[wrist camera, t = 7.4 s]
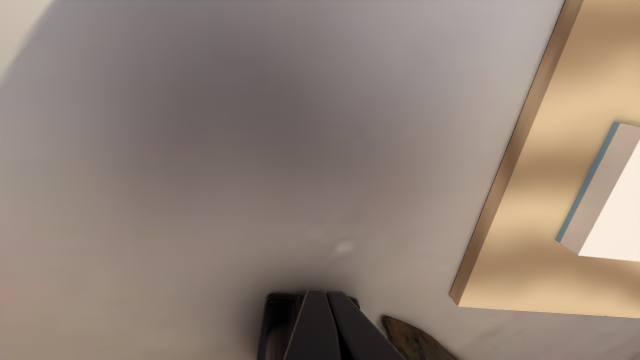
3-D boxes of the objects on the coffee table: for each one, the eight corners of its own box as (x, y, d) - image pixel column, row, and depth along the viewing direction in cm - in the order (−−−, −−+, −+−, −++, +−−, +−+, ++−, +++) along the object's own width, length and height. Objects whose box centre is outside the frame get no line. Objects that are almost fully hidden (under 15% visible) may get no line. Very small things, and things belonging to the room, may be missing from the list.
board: (625, 306, 27) (640, 318, 26) (449, 294, 24) (457, 306, 23) (789, 49, 20) (818, 49, 19) (569, -11, 17) (589, -15, 16)
